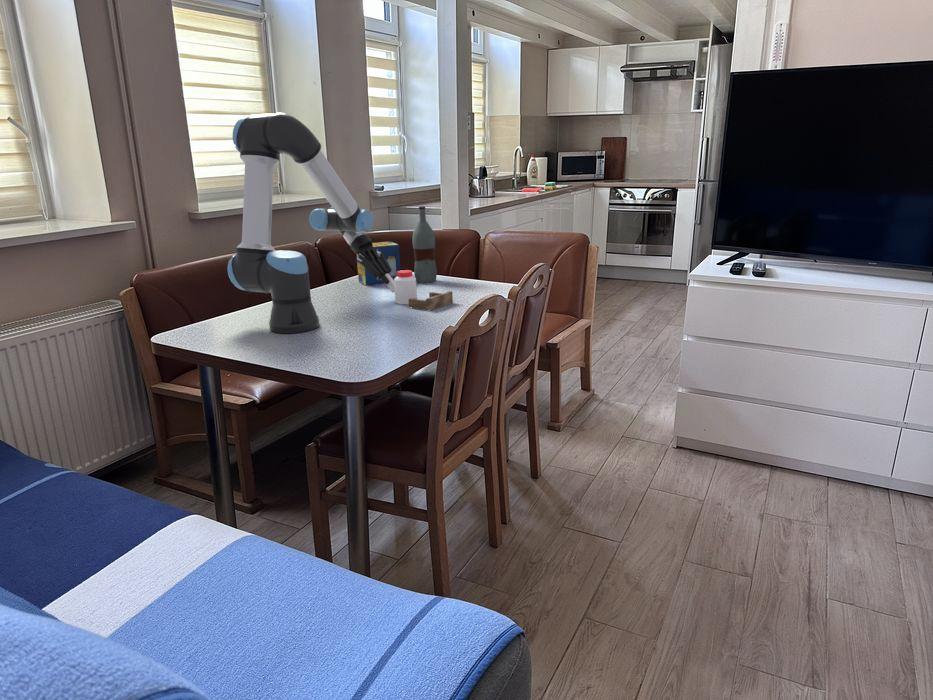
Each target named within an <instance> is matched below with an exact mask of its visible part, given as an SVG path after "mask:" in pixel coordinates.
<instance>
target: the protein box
mask: <svg viewBox="0 0 933 700" xmlns="http://www.w3.org/2000/svg"><path fill="white" fill-rule="evenodd" d="M372 245H373V247H374V248H376V250H377V251H381V250H382V251H383V252H384V256H385V258H386V260H387V262H388V264H389V266H390V268H391V270H392V271H391V272H390V275H391V276H392V278H393V279H395V277H396V276H397V271H401V259H400V245H399V244H398V243H395V242H393V241H381V242H372ZM357 258H358V255H357V254H356V259H357ZM356 264H357V266H356V267H357V276H358V282H359V283H360V282H361V284H363V285H364V286H365V287H368V286H367V285H370V286H376V285H375V284H378V285H385V284H384V282H383V281H382V279H381V280H379V279H378V278H379V277H377V278H375V277H374V276H373V275H372V274H371V273H370V272H369V271H368V270H367V269H366V268H365V267H364V266H363V265H362V264H360V263H359V262H357V261H356ZM375 274H376V273H375Z"/></svg>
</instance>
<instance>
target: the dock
mask: <svg viewBox="0 0 933 700" xmlns="http://www.w3.org/2000/svg"><path fill="white" fill-rule="evenodd" d="M428 296H429V297H428V298H425V299H419V298H417V299H409V304H408V308H409V307H412V308H411V309H415V308H418V309H417V310H422V309H425V310H424V311H427V310H431V311H433V310H436V309H439V308H442V307H445V306H448V305H451V304H453V303H454V300H453V291H450V290H449V291H447V292H444V293H441V292H433V291H432V292H431V291H430V292H428ZM450 303H451V304H450ZM447 304H448V305H447ZM444 305H445V306H444ZM441 306H442V307H441ZM438 307H439V308H438ZM435 308H436V309H435ZM432 309H433V310H432Z"/></svg>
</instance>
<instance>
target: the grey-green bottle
mask: <svg viewBox="0 0 933 700" xmlns="http://www.w3.org/2000/svg"><path fill="white" fill-rule="evenodd" d="M418 212H419V213H418V216H419V218H418V219H419V221H418V223H417V225H416V226H415V228H414V230H413V233H412V242H411V243H412V247H413V256H414V268H413V269H414V272H413V274H414V275H413V276H414V277H415V278H416V282H417V283H416V284H419V283H423V284H422V285H426V284H425V283H430V284H434V283H436V281H437V275H438V273H437V272H438V271H437V265H436V259H435V258H436V257H435V255H436V253H435V252H436V238H435V237H436V236H435V233H434V230H433V228H432V227H431V226H430V224H429V222H428V221H427V215H426V206H418ZM433 282H434V283H433Z"/></svg>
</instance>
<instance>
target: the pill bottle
mask: <svg viewBox="0 0 933 700" xmlns="http://www.w3.org/2000/svg"><path fill="white" fill-rule="evenodd" d="M394 287H395V292H394V296H395V297H394V298H395V303H398V304H397V305H402V304H406V305H409V299H418V290H417V283H416V278H415V275H413V270H409V269H405V270H404V269H402V270H401V269H400V271H397V276H396V277H395V279H394Z"/></svg>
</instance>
